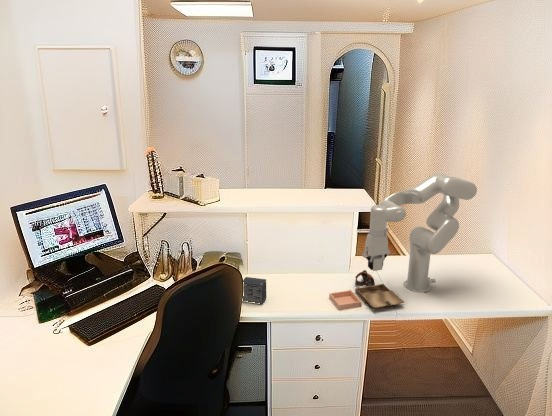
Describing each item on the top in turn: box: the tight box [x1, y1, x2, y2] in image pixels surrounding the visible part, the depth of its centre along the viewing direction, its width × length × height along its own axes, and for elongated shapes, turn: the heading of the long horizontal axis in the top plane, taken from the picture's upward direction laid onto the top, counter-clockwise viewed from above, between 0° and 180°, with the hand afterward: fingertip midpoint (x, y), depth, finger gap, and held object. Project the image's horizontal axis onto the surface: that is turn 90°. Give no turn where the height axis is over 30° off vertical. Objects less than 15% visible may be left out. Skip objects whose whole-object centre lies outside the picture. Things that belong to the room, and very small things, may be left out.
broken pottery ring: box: [354, 269, 376, 287], centre depth 216 cm, size 12×9×8 cm
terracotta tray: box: [328, 289, 363, 311], centre depth 199 cm, size 11×11×3 cm
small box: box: [242, 276, 268, 305], centre depth 201 cm, size 11×6×10 cm, turn 74°
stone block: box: [371, 255, 384, 272], centre depth 200 cm, size 4×4×6 cm
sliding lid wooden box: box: [354, 283, 405, 309], centre depth 200 cm, size 16×19×4 cm
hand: (375, 267), depth 201 cm, fingers closed on stone block, 4 cm apart
